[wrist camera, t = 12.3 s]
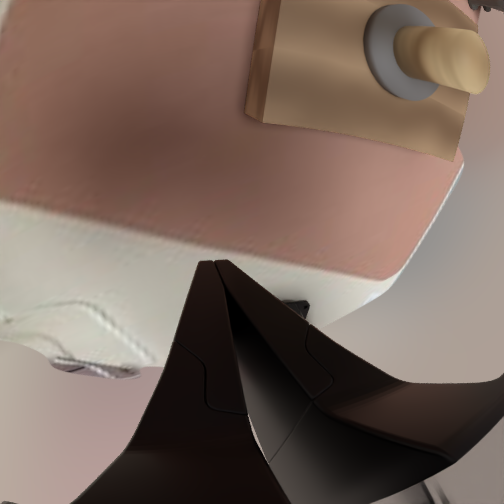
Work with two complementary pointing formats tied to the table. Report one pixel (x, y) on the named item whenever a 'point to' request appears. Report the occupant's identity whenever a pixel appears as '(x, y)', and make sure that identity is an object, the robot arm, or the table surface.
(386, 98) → the walnut board
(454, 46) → the tan piece
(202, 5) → the table surface
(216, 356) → the robot arm
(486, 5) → the giant panda
